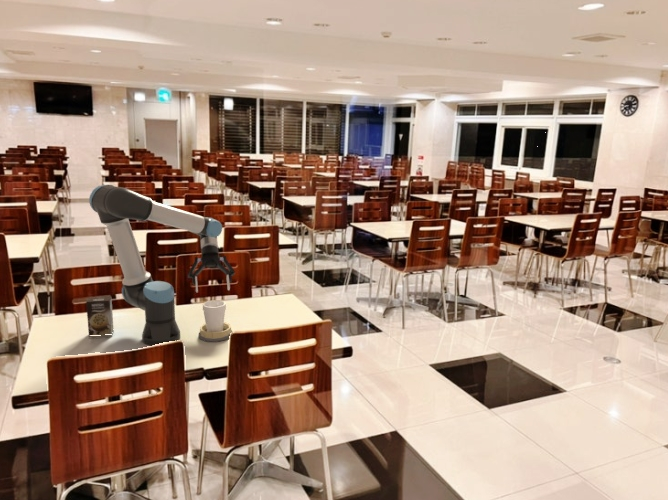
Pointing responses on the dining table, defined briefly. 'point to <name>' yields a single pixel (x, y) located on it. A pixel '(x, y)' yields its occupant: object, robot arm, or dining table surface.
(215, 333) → the collar seat
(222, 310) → the foam cup
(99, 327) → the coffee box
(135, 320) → the dining table surface
